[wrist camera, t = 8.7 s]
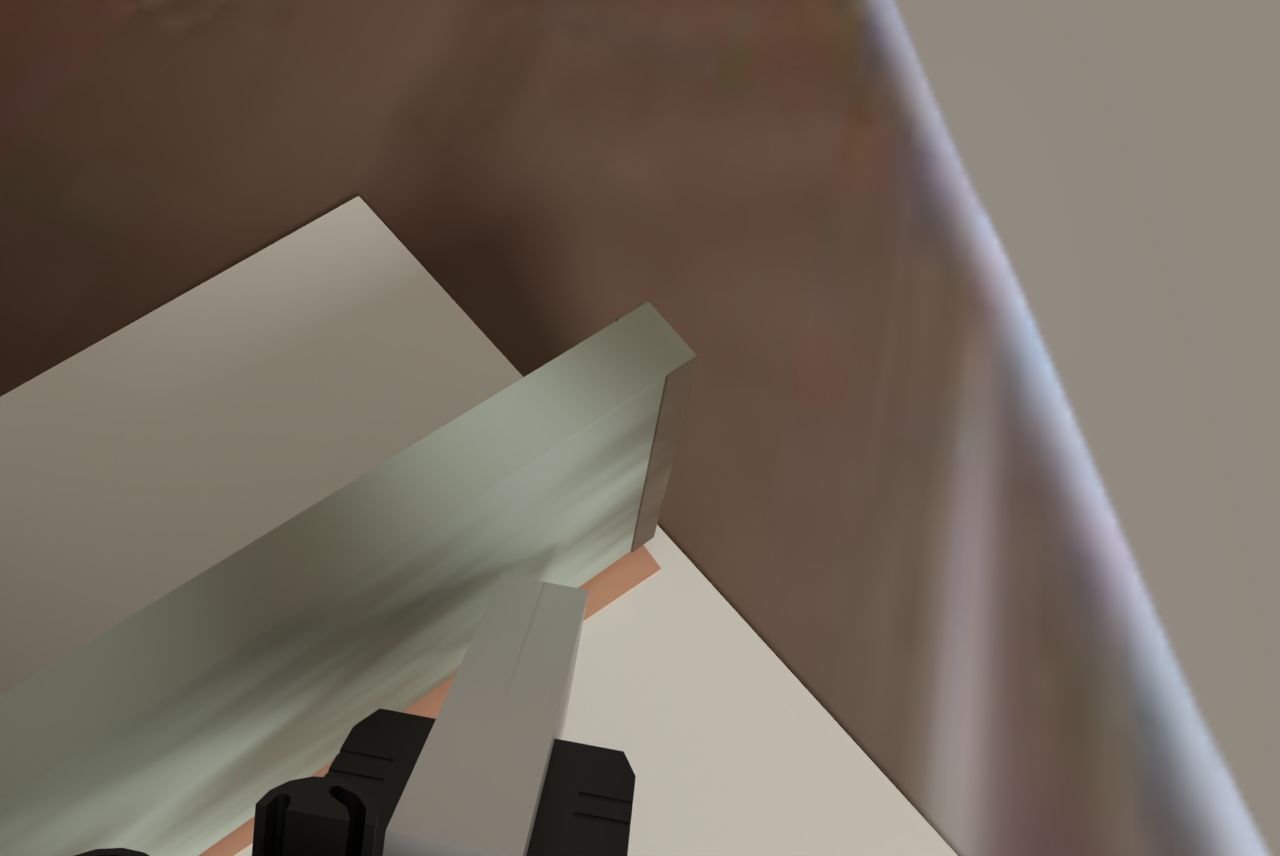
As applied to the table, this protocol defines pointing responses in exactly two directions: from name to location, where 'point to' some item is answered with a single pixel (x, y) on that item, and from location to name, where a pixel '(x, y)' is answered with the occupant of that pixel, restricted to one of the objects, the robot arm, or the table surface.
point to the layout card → (345, 450)
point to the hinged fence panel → (342, 608)
